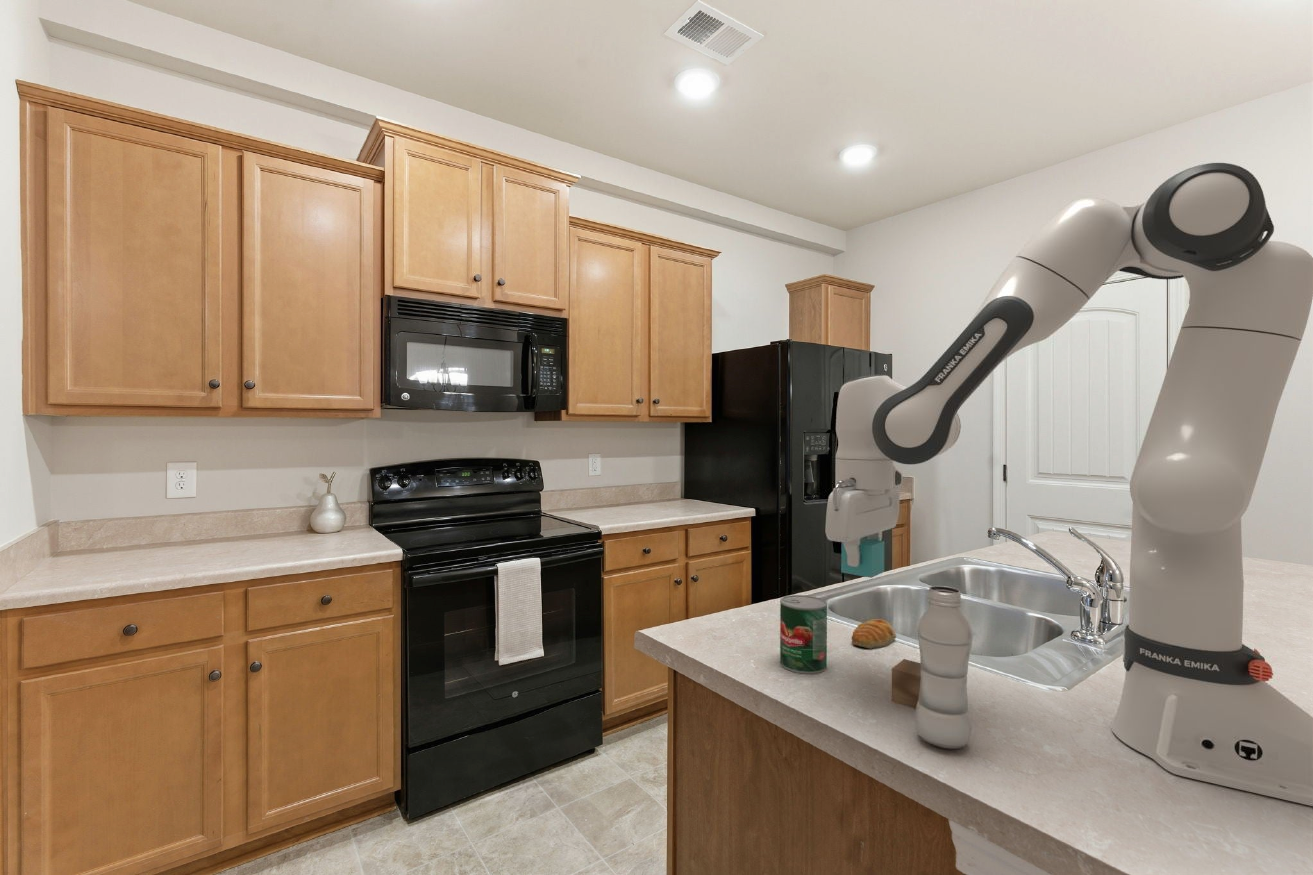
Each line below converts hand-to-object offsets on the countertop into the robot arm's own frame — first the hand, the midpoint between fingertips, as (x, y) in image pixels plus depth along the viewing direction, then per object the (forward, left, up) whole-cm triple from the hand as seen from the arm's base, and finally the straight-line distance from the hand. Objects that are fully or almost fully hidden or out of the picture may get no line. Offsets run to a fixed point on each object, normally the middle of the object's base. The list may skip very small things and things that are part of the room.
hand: (863, 562), depth 98 cm
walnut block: (-9, +2, -19) cm, 21 cm away
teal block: (0, 0, -2) cm, 2 cm away
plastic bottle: (-16, +12, -19) cm, 28 cm away
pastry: (+6, -18, -20) cm, 27 cm away
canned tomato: (+10, +1, -19) cm, 22 cm away
